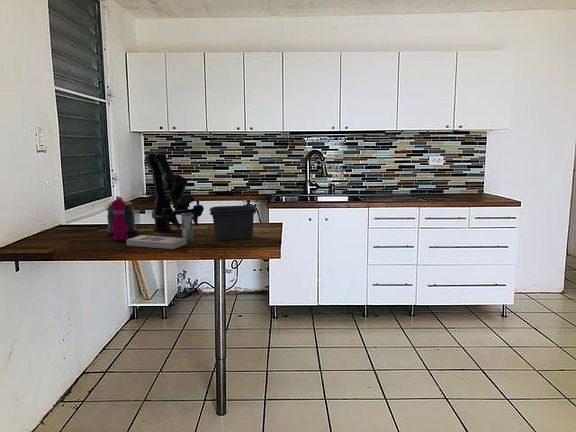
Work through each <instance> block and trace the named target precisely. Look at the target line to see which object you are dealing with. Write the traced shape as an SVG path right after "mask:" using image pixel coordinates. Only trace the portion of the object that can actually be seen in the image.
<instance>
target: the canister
mask: <svg viewBox="0 0 576 432" xmlns="http://www.w3.org/2000/svg"><path fill="white" fill-rule="evenodd" d="M119 197H120V199H119V200H123V201H124V202H125V208H124V209H123V210H124V212H125V213H124V219H125V222H126V224H127V226H128V232H127V233H126V234H130V233H133V232H134V233H135V231H136V223H135V222H136V221H135V213H134V209H135V207H134V206H132V205H133V202H131V201H130V200H126V199H125V200H124V199H123V197H121V196H119ZM113 201H114V200H113ZM113 201H110V202H109V203H108V204H107V206H108V207H107V208H106V211H107V216H106V217H107V226H108V227H107V231H108V233H109V234H113V235H115V234H114V233H113V232H112V226H113V223H114V213H113V210H114V209H113V208H112V206H111V204H112V202H113Z"/></svg>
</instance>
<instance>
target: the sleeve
mask: <svg viewBox="0 0 576 432" xmlns="http://www.w3.org/2000/svg"><path fill="white" fill-rule="evenodd" d="M180 217H181V235H182V238H186V241H187V243H192V242H194V233H193V231H194V229H193V219H192V212H183V213H181V215H180Z"/></svg>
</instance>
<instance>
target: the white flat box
mask: <svg viewBox="0 0 576 432" xmlns="http://www.w3.org/2000/svg"><path fill="white" fill-rule="evenodd" d="M125 240H126V241H125V242H126V246H129V247H142V248H153V249H154V248H155V249H166V250H167V249H168V250H175V249H177V248H180V247H182V246H185V245H187V244H188V242H187V241H186V238H183V237H172V236H171V237H170V236H160V235H159V236H157V235H155V236H154V235H145V234H143V235H142V234H140V235H138V236H134V237H131V238H127V239H125Z"/></svg>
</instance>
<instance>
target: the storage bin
mask: <svg viewBox="0 0 576 432" xmlns="http://www.w3.org/2000/svg"><path fill="white" fill-rule="evenodd" d="M208 211H210V213H209V215H210V216H212V220H213V226H214V227H213V228H214V233H215V234H214V236H215V240H216V241H224V240H225V241H227V240H228V241H229V240H230V241H231V240H251V239H253V237H254V236H253V235H254V219H255V214H256V212H257V205H255V204H254V205H221V206H212V207H209V209H208Z"/></svg>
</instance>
